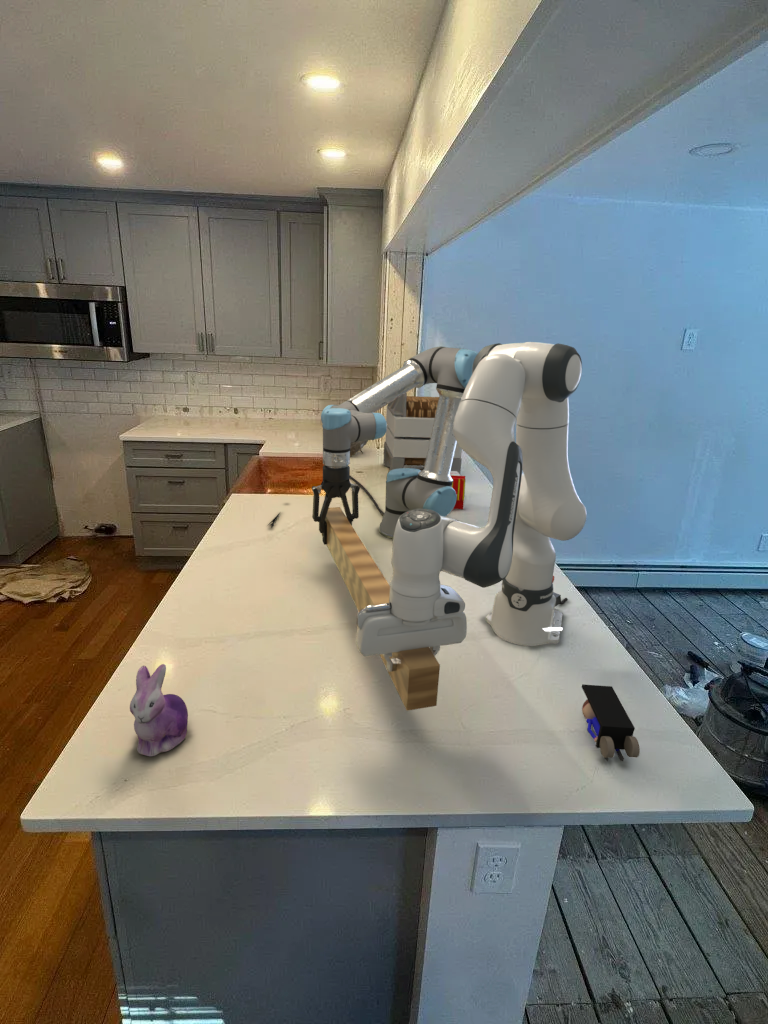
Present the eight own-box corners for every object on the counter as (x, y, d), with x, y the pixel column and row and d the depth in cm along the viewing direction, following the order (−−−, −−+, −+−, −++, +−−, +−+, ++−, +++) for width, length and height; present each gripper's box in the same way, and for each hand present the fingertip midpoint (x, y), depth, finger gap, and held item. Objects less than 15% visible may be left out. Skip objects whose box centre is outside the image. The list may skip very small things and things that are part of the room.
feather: (287, 506, 225) (290, 502, 224) (270, 530, 198) (272, 526, 198) (283, 504, 225) (286, 500, 224) (265, 527, 198) (268, 523, 197)
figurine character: (636, 775, 100) (605, 711, 114) (646, 744, 97) (613, 682, 111) (599, 774, 100) (572, 710, 114) (608, 744, 97) (579, 681, 110)
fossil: (344, 440, 316) (365, 425, 311) (355, 453, 319) (376, 438, 314) (337, 453, 296) (360, 437, 291) (349, 467, 299) (371, 452, 294)
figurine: (137, 767, 96) (127, 693, 90) (132, 728, 104) (122, 659, 99) (195, 750, 100) (189, 678, 95) (185, 714, 108) (179, 646, 103)
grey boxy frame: (382, 463, 289) (386, 382, 275) (445, 464, 293) (451, 384, 279) (390, 482, 257) (394, 392, 243) (460, 483, 261) (468, 394, 247)
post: (321, 534, 171) (321, 508, 168) (339, 533, 173) (340, 506, 170) (406, 711, 99) (409, 669, 96) (436, 706, 100) (440, 664, 97)
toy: (457, 467, 251) (469, 477, 222) (455, 496, 254) (467, 510, 225) (430, 466, 251) (438, 476, 222) (429, 496, 254) (437, 509, 224)
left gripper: (305, 470, 151) (305, 549, 159) (372, 467, 157) (369, 544, 165) (300, 463, 158) (301, 539, 166) (364, 460, 164) (362, 534, 172)
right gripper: (362, 616, 94) (359, 685, 99) (473, 602, 100) (466, 668, 105) (352, 598, 100) (350, 664, 104) (458, 586, 106) (452, 649, 110)
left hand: (335, 541), depth 166 cm, fingers closed on post, 6 cm apart
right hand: (409, 666), depth 105 cm, fingers closed on post, 5 cm apart
